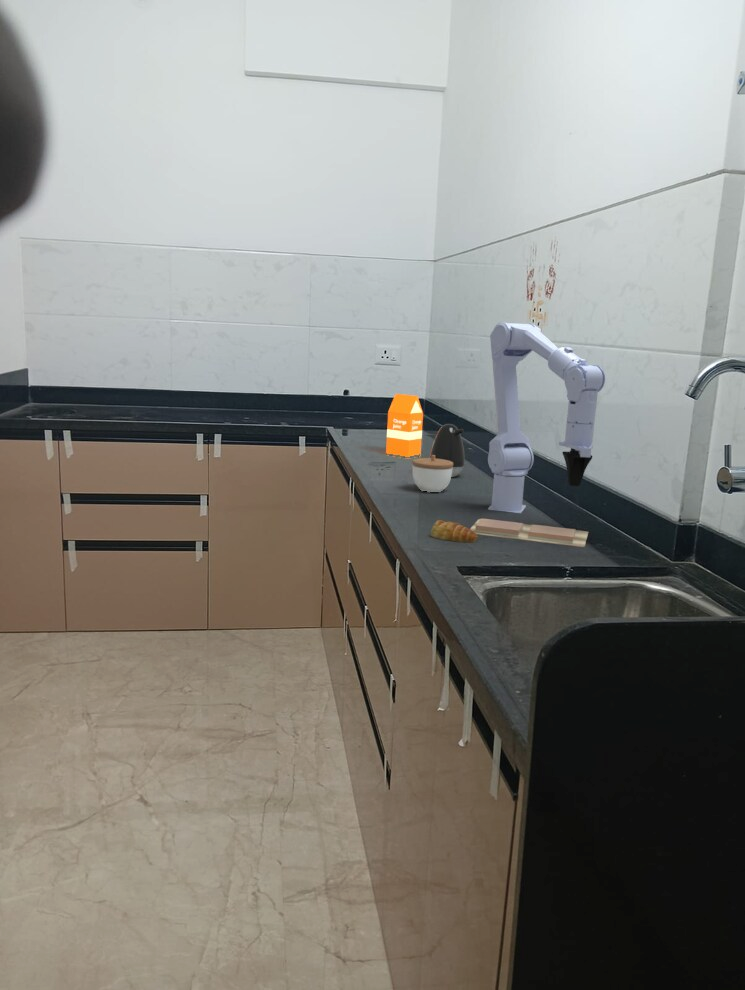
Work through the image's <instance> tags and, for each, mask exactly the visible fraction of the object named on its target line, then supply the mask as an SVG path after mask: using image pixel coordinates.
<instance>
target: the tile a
mask: <svg viewBox="0 0 745 990" xmlns="http://www.w3.org/2000/svg"><path fill="white" fill-rule="evenodd" d="M480 519H481V520H480V521H479V522H478V523H477V524H476V529H475V532H481V533H490V534H498V535H506V536H514V537H519V535H520V533H521V532H522V530H523V524H524V523H523V522H515V521H507V520H497V519H489V518H480Z"/></svg>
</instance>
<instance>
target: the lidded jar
mask: <svg viewBox="0 0 745 990" xmlns="http://www.w3.org/2000/svg"><path fill="white" fill-rule="evenodd" d="M411 462H412V463H411V464H412V469H411V470H412V479H413V482H414V483H415V485H416V487H418V489H420V490H421V491H420V490H419V491H420V492H423V491H427V492H426V493H430V492H439V493H442V492H443V491H444V490H445V489H446V488H448V485H449V484H450V482H451V479H452V478H451V476H452V470H453V462H451V461H448V460H444V459H436V458H435V455H431V458H430V457H421V458H418V457H417V458H414V459H412V461H411ZM441 491H442V492H441Z"/></svg>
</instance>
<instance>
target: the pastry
mask: <svg viewBox="0 0 745 990" xmlns="http://www.w3.org/2000/svg"><path fill="white" fill-rule="evenodd" d="M430 537H431V538H435V539H437V540H444V541H450V542H457V543H459V542H460V543H476V542H477V541H478V539H479V534H476V533H475V532H474V531H472V530H470V528H468V527H466V526H464V525H462V524H460V523H459V522H452V521H445V520H441V519H437V520H436V521H435V522H434V523H433V525H432V527H431V530H430Z"/></svg>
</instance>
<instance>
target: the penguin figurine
mask: <svg viewBox="0 0 745 990" xmlns="http://www.w3.org/2000/svg"><path fill="white" fill-rule="evenodd" d="M464 431H465V430H464V428H460V429H458V427H457V426H456V425H454V424H452V423H445V424H443V425H442V426H441V427H440V428H439V430H438V431H437V434H436V435H435V437H434V441H433V443H432V447H431V449H430V454H429V458H431V455H435V458H436V459H444V460H448V461H451V462H453V470H452V476H451V477H452V478H455V477H457V476H459V475H460V474H461V472H462V471H463V469H464V466H465V465H466V464H465V462H466V460H465V459H466V458H465V448H464V443H463V440H462V439H463V438H462V435H461V434H463V433H464Z"/></svg>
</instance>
